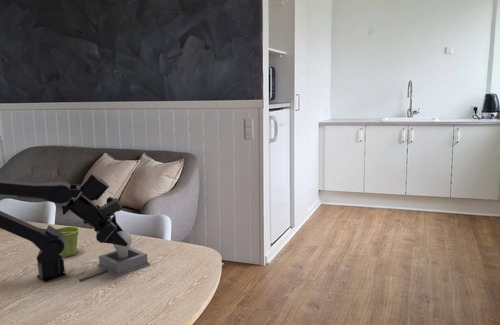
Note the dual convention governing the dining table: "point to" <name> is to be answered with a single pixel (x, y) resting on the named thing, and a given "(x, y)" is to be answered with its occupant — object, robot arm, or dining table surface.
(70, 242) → the plant pot
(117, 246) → the lightbulb
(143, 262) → the grey square pan
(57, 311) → the dining table surface
